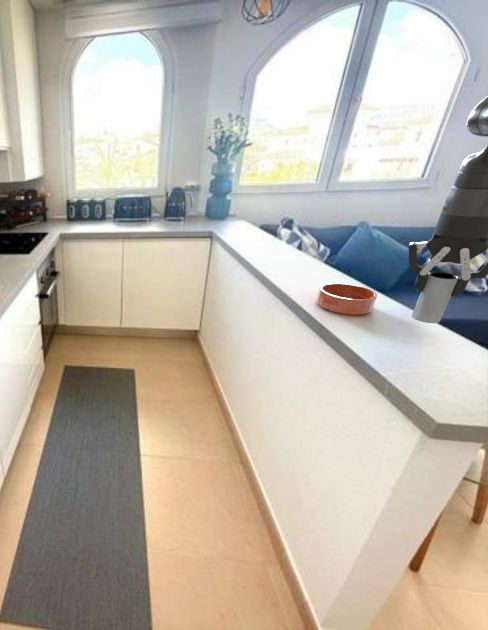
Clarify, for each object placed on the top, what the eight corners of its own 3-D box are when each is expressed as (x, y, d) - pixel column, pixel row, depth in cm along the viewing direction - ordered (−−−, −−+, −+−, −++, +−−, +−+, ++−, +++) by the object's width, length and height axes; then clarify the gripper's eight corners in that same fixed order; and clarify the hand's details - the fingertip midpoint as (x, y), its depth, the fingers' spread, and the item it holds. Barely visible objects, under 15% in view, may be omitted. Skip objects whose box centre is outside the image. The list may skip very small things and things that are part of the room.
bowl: (373, 303, 103) (378, 288, 100) (368, 320, 94) (374, 303, 92) (320, 294, 111) (324, 280, 109) (312, 309, 102) (316, 293, 100)
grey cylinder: (413, 321, 76) (430, 277, 71) (409, 313, 79) (426, 270, 75) (442, 325, 73) (461, 280, 69) (437, 316, 77) (456, 273, 72)
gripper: (524, 209, 64) (483, 293, 71) (418, 206, 73) (392, 281, 80) (532, 216, 59) (488, 306, 67) (418, 213, 68) (390, 292, 76)
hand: (436, 292), depth 73 cm, fingers closed on grey cylinder, 4 cm apart
